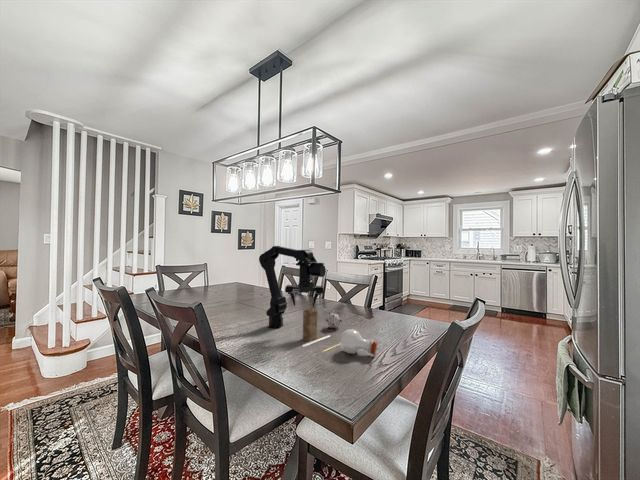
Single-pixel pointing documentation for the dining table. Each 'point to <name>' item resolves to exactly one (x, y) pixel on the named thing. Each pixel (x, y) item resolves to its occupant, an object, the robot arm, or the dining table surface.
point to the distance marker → (331, 347)
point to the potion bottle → (357, 343)
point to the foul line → (315, 341)
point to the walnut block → (309, 324)
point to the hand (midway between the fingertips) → (303, 306)
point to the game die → (333, 320)
